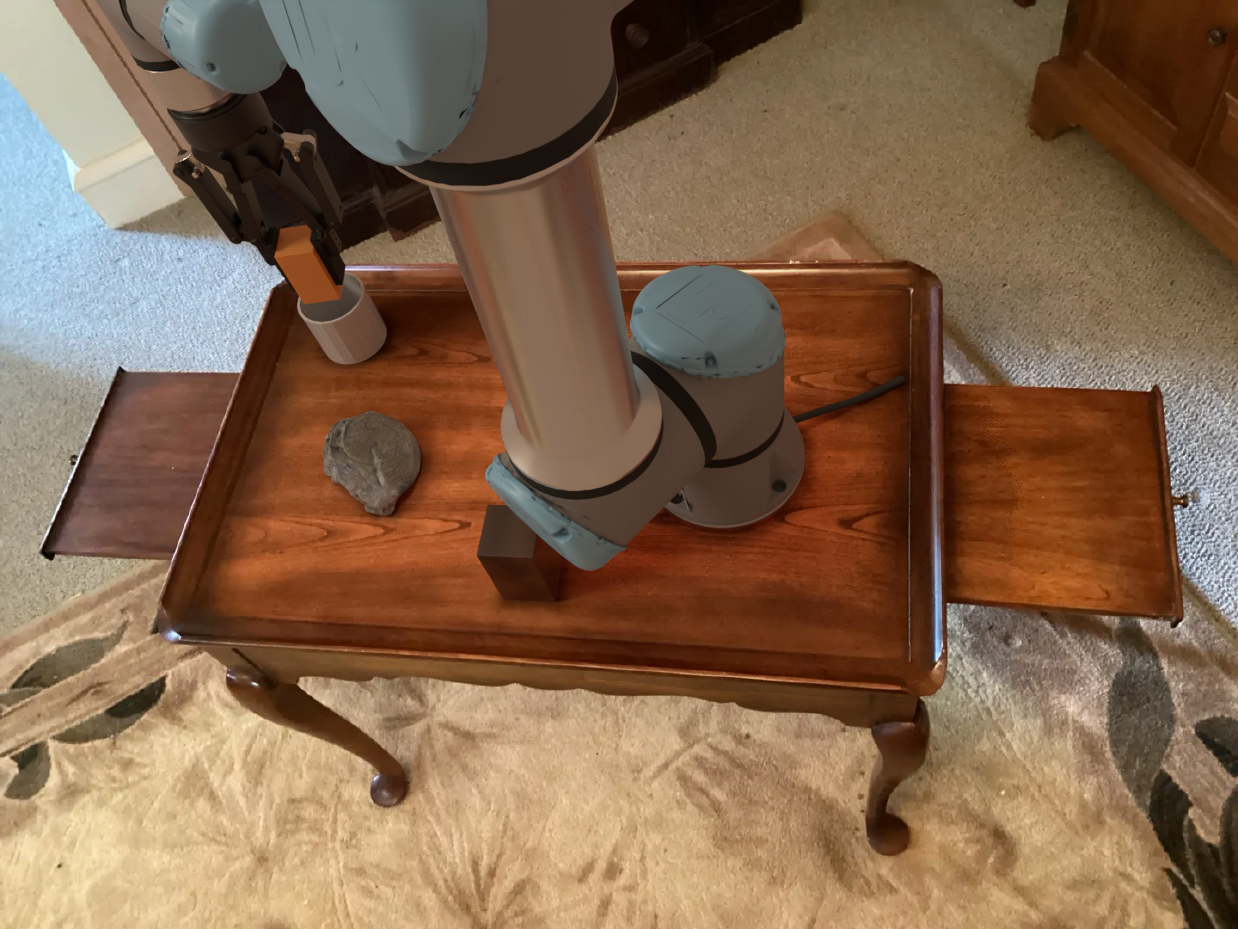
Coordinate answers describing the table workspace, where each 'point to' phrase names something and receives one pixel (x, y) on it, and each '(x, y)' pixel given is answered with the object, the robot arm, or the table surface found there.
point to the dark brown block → (517, 557)
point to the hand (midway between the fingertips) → (319, 278)
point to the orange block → (305, 266)
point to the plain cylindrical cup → (346, 323)
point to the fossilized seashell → (372, 459)
